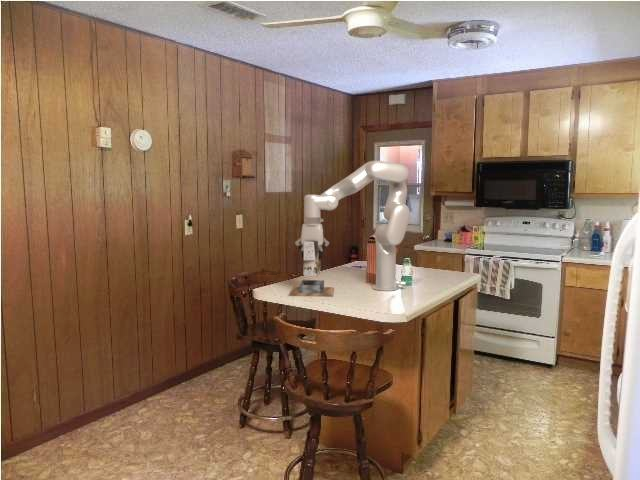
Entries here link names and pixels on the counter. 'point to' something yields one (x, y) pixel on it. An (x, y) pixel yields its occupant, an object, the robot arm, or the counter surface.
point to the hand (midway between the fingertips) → (312, 259)
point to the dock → (312, 289)
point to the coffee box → (311, 258)
